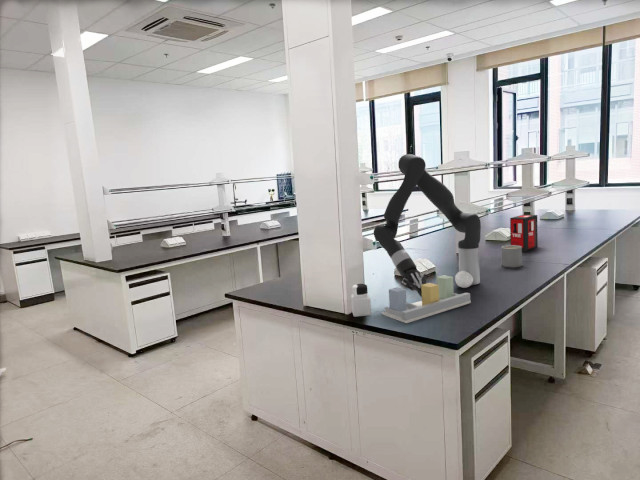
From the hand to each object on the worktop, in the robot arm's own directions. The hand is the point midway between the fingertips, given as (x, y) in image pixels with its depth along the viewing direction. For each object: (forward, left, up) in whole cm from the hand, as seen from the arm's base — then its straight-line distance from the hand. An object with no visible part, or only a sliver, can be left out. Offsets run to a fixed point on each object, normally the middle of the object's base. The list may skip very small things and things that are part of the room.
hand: (424, 296), depth 184 cm
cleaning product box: (-118, +58, -5) cm, 132 cm away
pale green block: (-10, +8, -4) cm, 14 cm away
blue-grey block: (+8, -10, -4) cm, 14 cm away
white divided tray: (+1, +1, -5) cm, 5 cm away
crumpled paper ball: (-30, +17, -5) cm, 35 cm away
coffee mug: (-74, +45, -5) cm, 87 cm away
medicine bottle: (+7, -25, -5) cm, 27 cm away
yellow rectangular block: (+2, +2, -4) cm, 5 cm away
